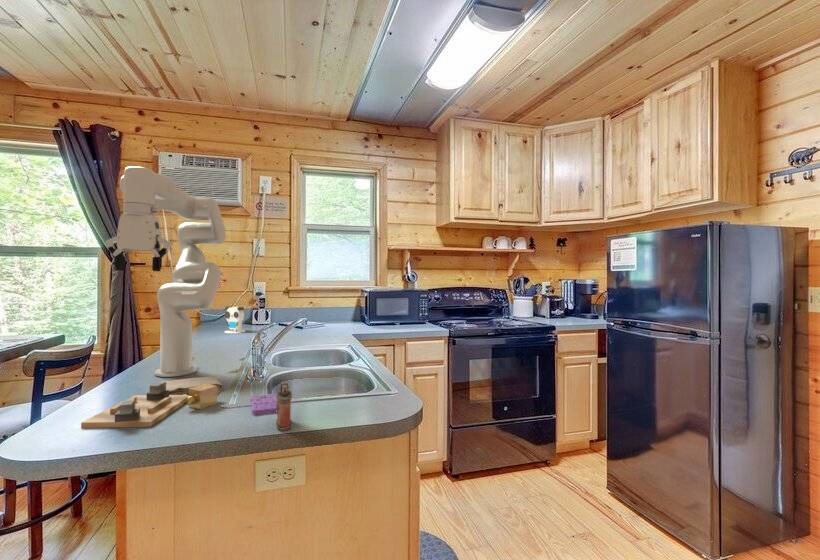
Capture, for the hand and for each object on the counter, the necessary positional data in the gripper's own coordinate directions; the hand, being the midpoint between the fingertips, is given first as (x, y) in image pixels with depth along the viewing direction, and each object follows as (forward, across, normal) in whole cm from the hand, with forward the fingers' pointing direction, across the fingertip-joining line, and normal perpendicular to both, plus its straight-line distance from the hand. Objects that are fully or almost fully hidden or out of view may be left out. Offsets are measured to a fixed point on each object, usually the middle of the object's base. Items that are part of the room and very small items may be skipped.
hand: (138, 270), depth 113 cm
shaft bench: (+36, -9, +14) cm, 40 cm away
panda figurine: (+34, +11, -122) cm, 128 cm away
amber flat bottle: (+36, -46, +26) cm, 64 cm away
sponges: (+37, -38, +12) cm, 54 cm away
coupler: (+36, -22, +10) cm, 43 cm away
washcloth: (+36, -12, -5) cm, 39 cm away
